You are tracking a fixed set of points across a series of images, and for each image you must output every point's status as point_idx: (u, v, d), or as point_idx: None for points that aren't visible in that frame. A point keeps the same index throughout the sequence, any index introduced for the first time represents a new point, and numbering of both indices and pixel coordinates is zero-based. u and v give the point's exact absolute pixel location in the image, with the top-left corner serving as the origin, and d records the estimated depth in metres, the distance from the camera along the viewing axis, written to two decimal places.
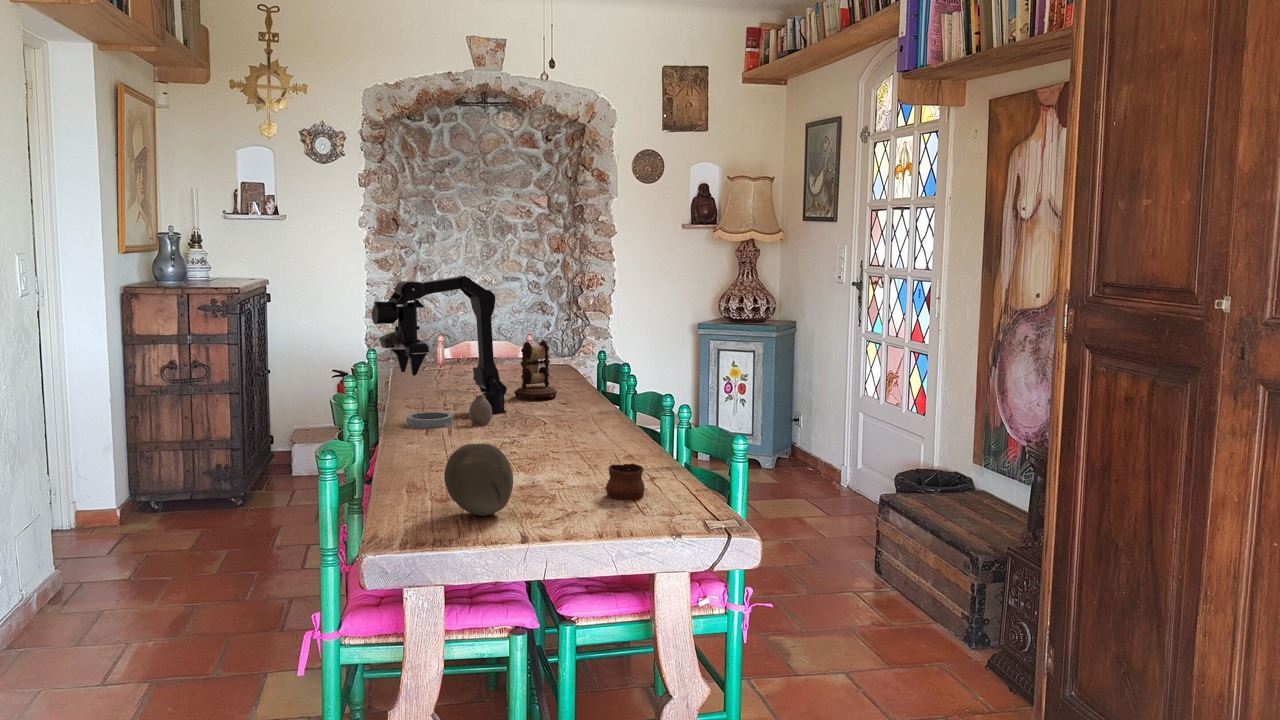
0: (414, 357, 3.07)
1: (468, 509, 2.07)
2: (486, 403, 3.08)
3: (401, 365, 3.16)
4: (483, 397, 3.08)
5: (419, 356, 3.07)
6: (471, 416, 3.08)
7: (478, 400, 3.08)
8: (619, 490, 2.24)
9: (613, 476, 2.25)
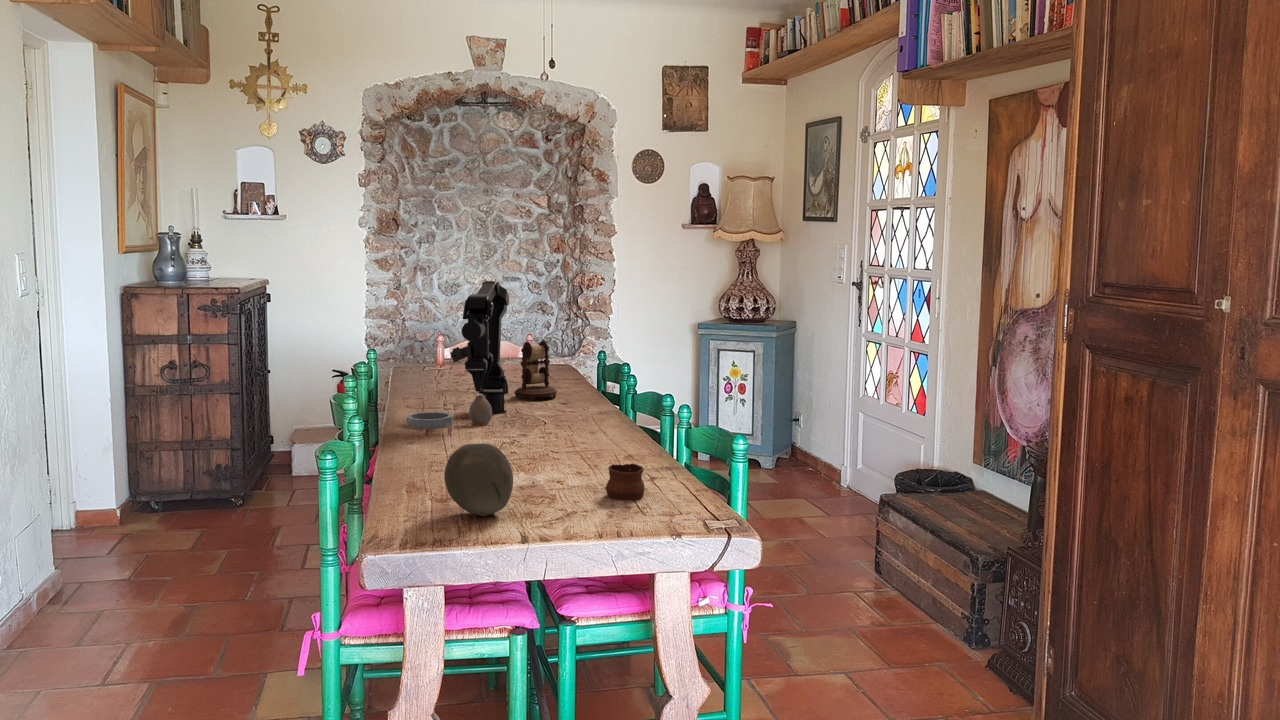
0: (476, 373, 3.02)
1: (468, 509, 2.07)
2: (486, 403, 3.08)
3: None
4: (483, 397, 3.08)
5: (480, 372, 3.02)
6: (471, 416, 3.08)
7: (478, 400, 3.08)
8: (618, 490, 2.24)
9: (613, 476, 2.25)
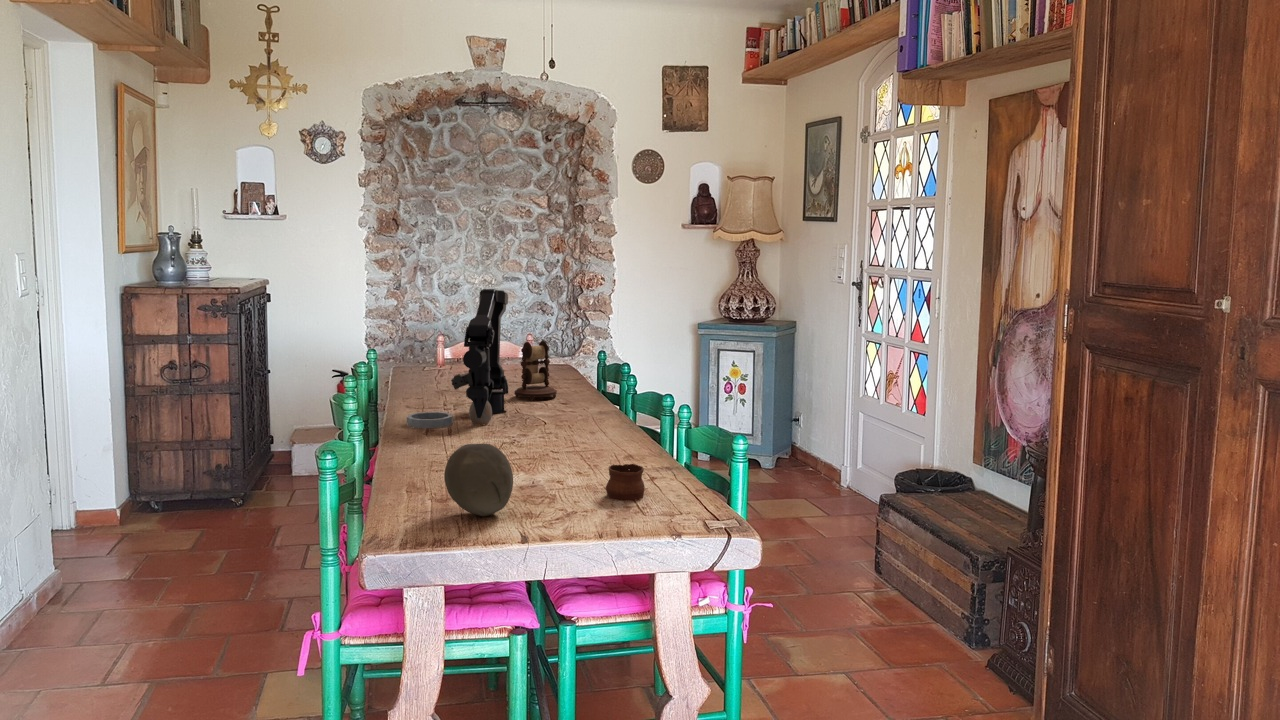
0: (477, 400, 3.04)
1: (468, 509, 2.07)
2: (486, 403, 3.08)
3: None
4: None
5: (482, 399, 3.04)
6: (471, 416, 3.08)
7: None
8: (619, 490, 2.23)
9: (613, 477, 2.25)
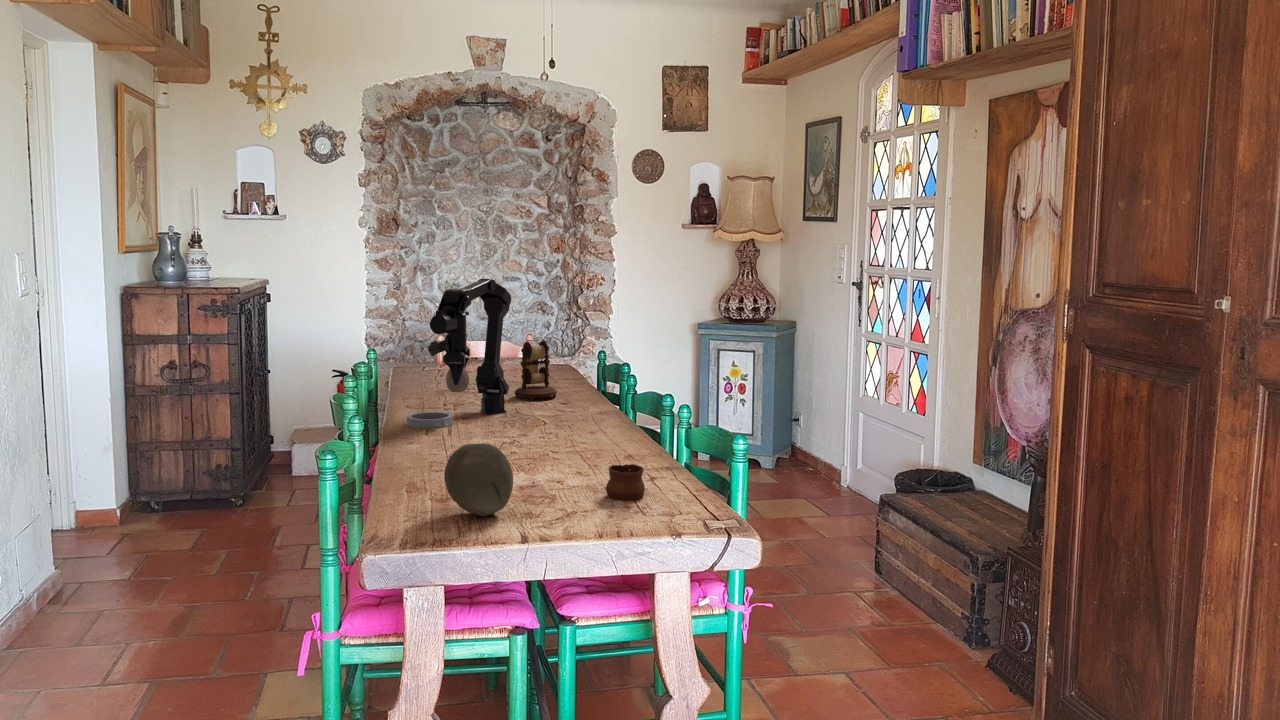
0: (454, 366, 3.03)
1: (468, 509, 2.07)
2: (463, 370, 3.06)
3: None
4: None
5: (459, 365, 3.02)
6: (448, 383, 3.06)
7: None
8: (619, 491, 2.23)
9: (613, 477, 2.25)
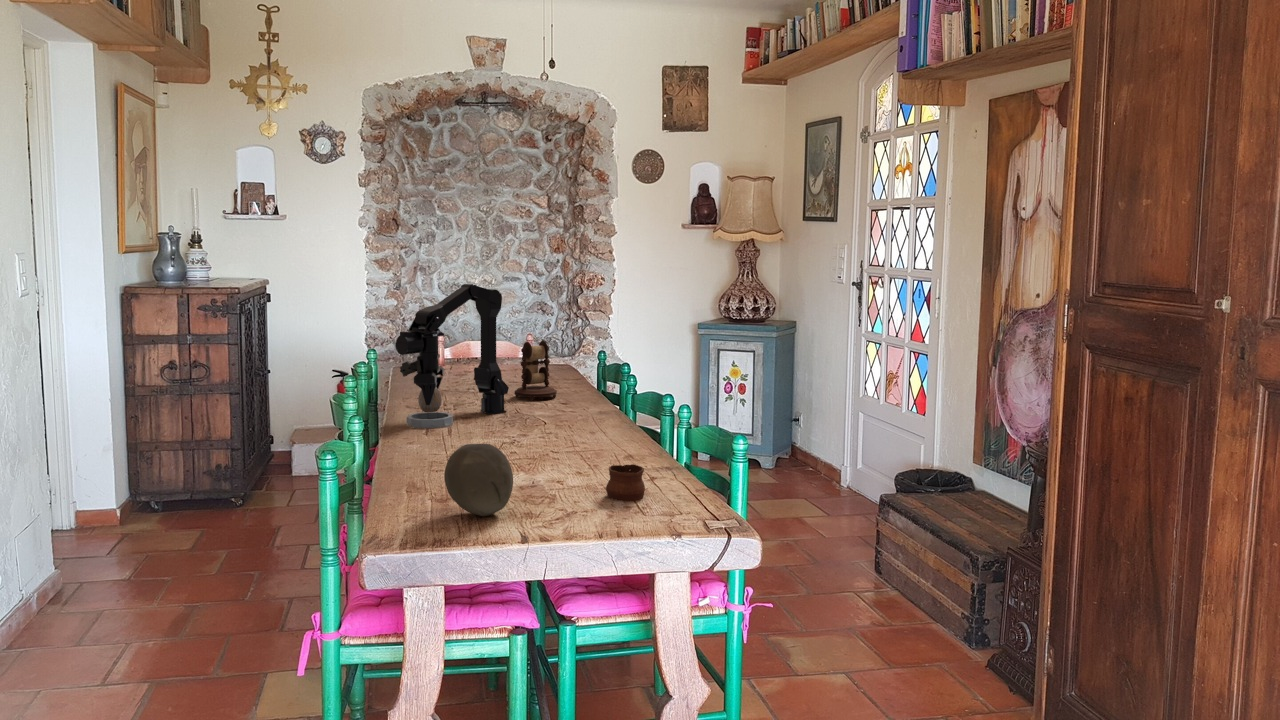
0: (425, 387, 3.03)
1: (468, 509, 2.07)
2: (435, 390, 3.07)
3: None
4: None
5: (430, 386, 3.03)
6: (420, 403, 3.06)
7: None
8: (618, 491, 2.23)
9: (613, 477, 2.25)
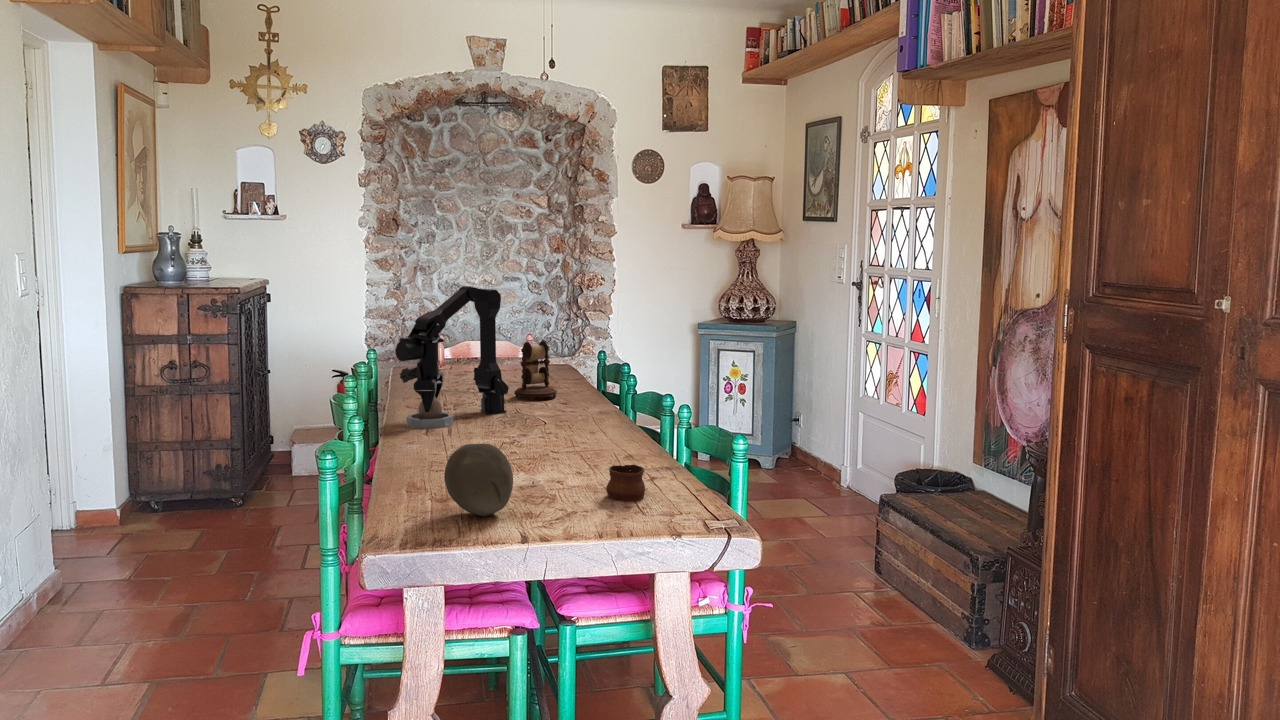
0: (425, 394, 3.03)
1: (468, 509, 2.07)
2: (435, 401, 3.07)
3: None
4: None
5: (429, 393, 3.02)
6: (420, 414, 3.07)
7: None
8: (619, 491, 2.23)
9: (613, 477, 2.24)
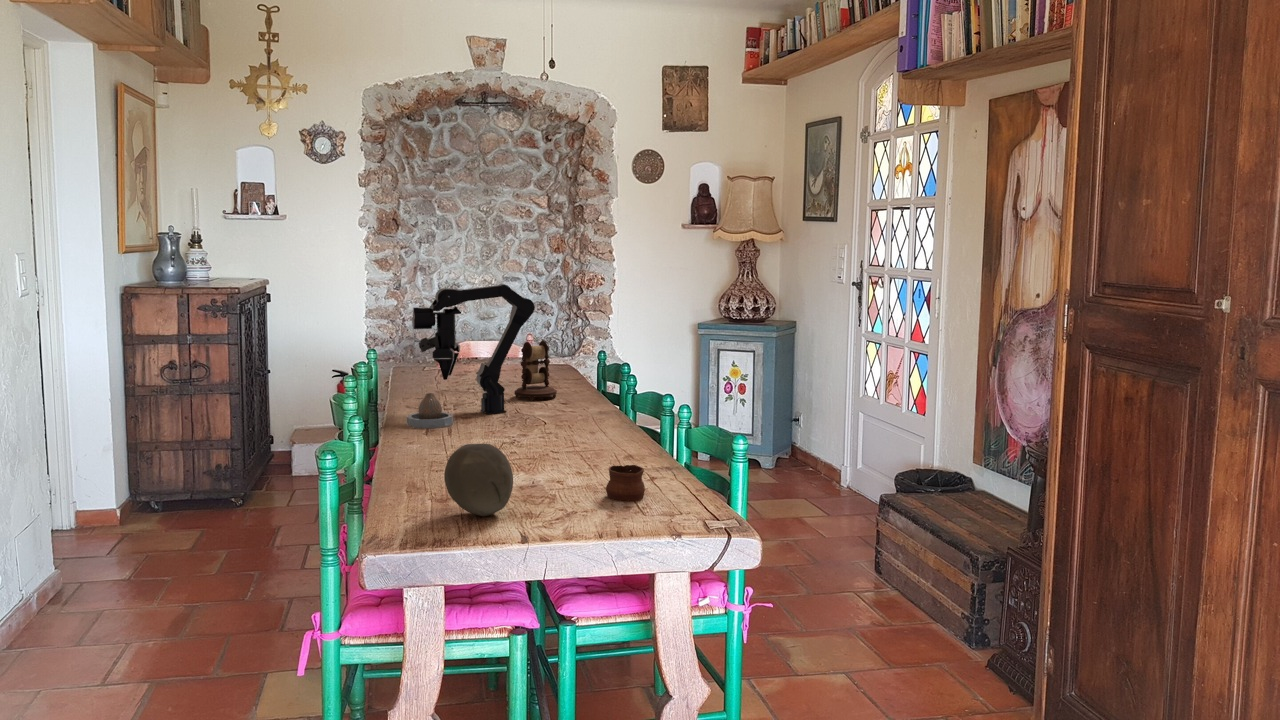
0: (443, 362, 3.17)
1: (468, 509, 2.07)
2: (435, 401, 3.07)
3: None
4: (432, 395, 3.08)
5: (447, 361, 3.17)
6: (420, 414, 3.07)
7: (427, 398, 3.07)
8: (618, 491, 2.23)
9: (612, 477, 2.24)
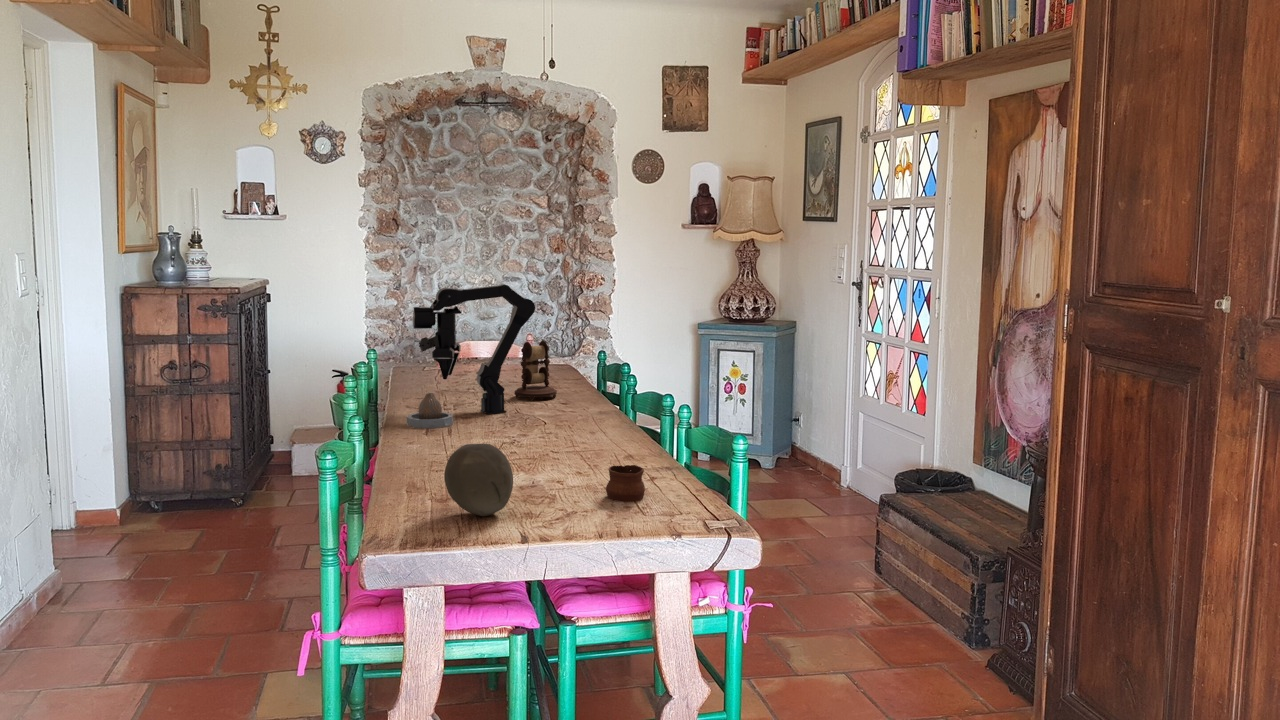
0: (443, 361, 3.18)
1: (468, 509, 2.07)
2: (435, 401, 3.07)
3: None
4: (432, 395, 3.08)
5: (447, 361, 3.17)
6: (420, 414, 3.07)
7: (427, 398, 3.07)
8: (617, 491, 2.23)
9: (612, 477, 2.24)
